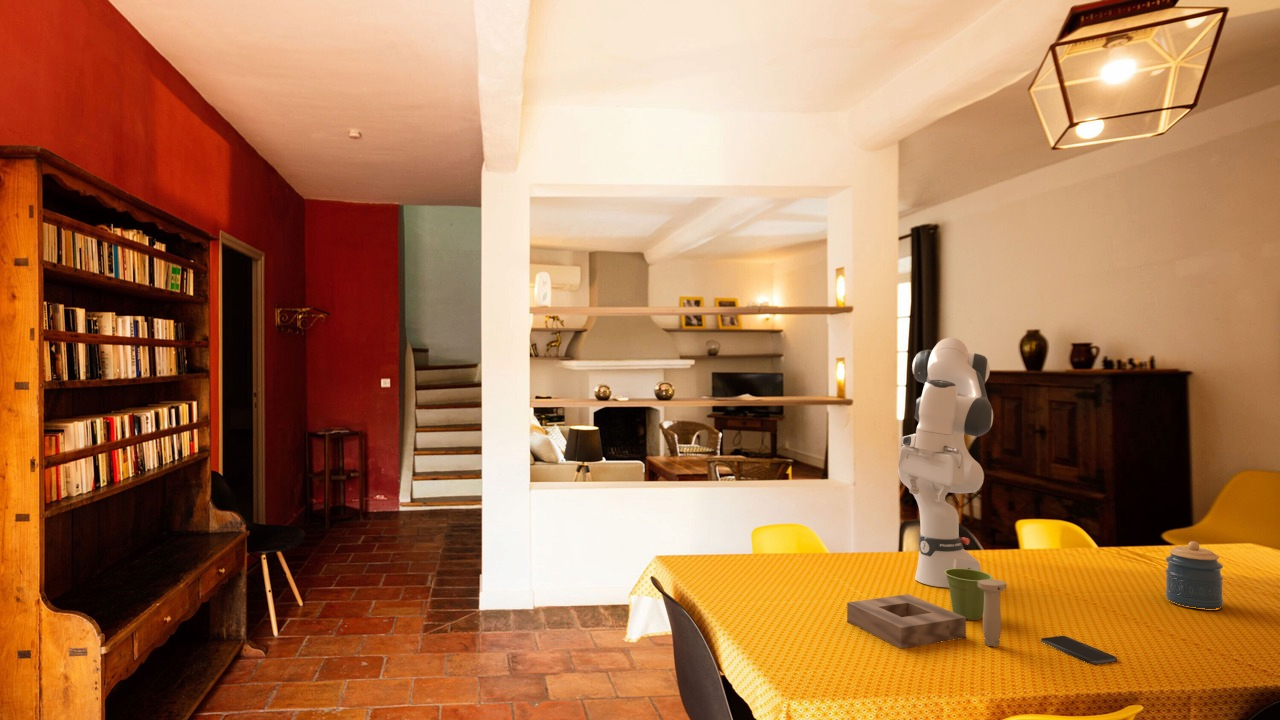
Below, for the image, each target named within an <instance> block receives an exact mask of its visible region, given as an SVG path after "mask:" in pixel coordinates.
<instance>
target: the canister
mask: <svg viewBox="0 0 1280 720" xmlns="http://www.w3.org/2000/svg"><path fill="white" fill-rule="evenodd" d="M1169 554H1170V555H1169V556H1167V557H1165V561H1166V562H1167V567H1166V569H1165V573H1166V574H1165V575H1166V579H1165V580H1166V581H1165V582H1166V583H1165V584H1166V588H1165V589H1166V590H1165V596H1166V600H1167V599H1168V600H1170V601H1172V602H1175V603H1177V604H1180V605H1184V606H1189V607H1196V608H1205V609H1216V608H1220V607H1222V608H1223V605H1224V599H1223V581H1224V577H1223V576H1222V573H1221V571H1222V569H1223V568H1224V566H1223V564H1222V563H1220V562H1219V561H1218V560H1219V558H1220V556H1219V555H1217V554H1216V553H1214V552H1213V551H1212V550H1210V549H1207V548H1202V547H1200V544H1199V543H1198V542H1197V541H1192V540H1191V541H1189V542H1188V544H1187V546H1184V545H1179V546H1175V547H1174V548H1171V549H1170V550H1169ZM1168 600H1167V601H1168Z"/></svg>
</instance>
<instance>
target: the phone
mask: <svg viewBox="0 0 1280 720" xmlns="http://www.w3.org/2000/svg"><path fill="white" fill-rule="evenodd" d="M1041 642H1043V643H1045V644H1047V645H1050V646H1052V647H1054V648H1056V649H1055V650H1057V649H1058V650H1057V651H1059V650H1060V651H1059V652H1061V651H1062V652H1061V653H1063V652H1064V653H1063V654H1066V655H1068V656H1070V655H1071V657H1072V656H1073V658H1075V659H1077V660H1080V661H1081V660H1082V662H1084V661H1085V662H1084V663H1086V662H1087V663H1086V664H1088V663H1090V664H1089V665H1091V664H1094V665H1093V666H1098V664H1100V665H1105V664H1106V663H1107V664H1112V662H1114V663H1117V662H1118V657H1117V656H1115V655H1113V654H1111V653H1108V652H1105V651H1104V650H1101V649H1098V648H1096V647H1094V646H1092V645H1088V644H1087V643H1083V642H1081V641H1079V640H1077V639H1074V638H1071V637H1069V636H1066V635H1058V636H1048V637H1042V638H1041V639H1040V643H1041ZM1043 643H1042V644H1043ZM1045 644H1044V645H1045ZM1047 645H1046V646H1047ZM1050 646H1049V647H1050ZM1052 647H1051V648H1052ZM1054 648H1053V649H1054Z"/></svg>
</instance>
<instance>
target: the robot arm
mask: <svg viewBox="0 0 1280 720" xmlns="http://www.w3.org/2000/svg"><path fill="white" fill-rule="evenodd" d="M911 365H912V366H911V367H912V368H911V370H912V374H913V377H914V379H915V380H916V381H917V382H919V383H921V384H922V383H923V384H924V385H923V389H922V393H921V396H919V397H918V398H917V399H916V402H915V412H914V419H915V421H917V422H918V424H917V426H916V430H915V433H913V434H909V435H905V436H902V437H901V440H900V444H901V445H902V446H901V447H900V449H899V454H898V462H897V475H898V478H899V479H900V481H901V483H902V484H903V485H904V486H906V487H907V488H908V491H909V493H910V494H912V495H913V497H914V499H915V500H916V503H917V506H918V510H919V522H920V524H919V525H920V528H919V529H920V533H919V534H918V546H919V553H918V561H917V568H916V571H915V576H914V579H915V581H917V582H919V583H921V584H924V585H927V586H931V587H938V588H949V584H948V582H947V576H946V574H945V573H944V571H945V570H947V569H952V568H963V569H972V570H977V571H981V570H982V569H981V564H980V562H979V560H978V559H977V558H975V557H974V556H973V555H972V554H970V553H969V552H968V551H967V550H965V549H964V545H967V546H968V545H969V544H970V542H971V540H970V539H969V538H968V537H960V535H959V531H960V530H959V527H960V526H959V524H960V523H959V521H960V520H959V519H960V515H959V513H958V511H957V509H956V508H955V507H954V506H953V505H951V504H950V503H949V502H947V501H946V496H947V495H948V493H952V494H970V493H971V494H972V493H973V494H974V493H976V492H977V491H979V490H980V489H981V488H982V486H983V483H984V479H985V473H984V470H983V468H982V466H981V464H980V463H979V462H978V461H977V460H975V459H974V457H972V455H971V454H970V451H968V449H967V446H966V442H965V435H966V436H967V435H968V436H973V437H976V438H978V437H981V436H983V435H985V434H986V433H988V432H989V431H990V430H991V428H992V425H993V420H994V411H993V408H992V405H991V402H990V401H989V399H988V395H987V391H986V388H985V387H986V386H985V384H986V382H987V380H988V379H989V377H990V371H991V367H990V364H989V362H988V358H987V357H986V356H985V355H983V354H980V353H970V352H969V351H968V348H967V346H966V344H965V343H964V341H962V340H960V339H958V338H954V337H946V338H943V339H941V340H939V341H938V342H937V343H936V345H935V346H934V347H933V349H926V350H925V349H923V350H920V351H919V352H918V353H916V355H915V356H914V358H913V361H912V364H911ZM963 544H964V545H963Z"/></svg>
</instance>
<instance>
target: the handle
mask: <svg viewBox="0 0 1280 720" xmlns="http://www.w3.org/2000/svg"><path fill="white" fill-rule="evenodd" d="M978 587H979V588H980V589H982V590H983V591H984V610H983V616H982V631H983V637H984V639H983V642H984V645H985V644H986V645H985V646H987V647H989V646H994V647H993V648H998V645H999V646H1000V644H1001V633H1002V632H1001V631H1002V617H1001V616H1002V615H1001V613H1002V612H1001V602H1000V601H1001V600H1000V599H1001V598H1000V596H1001V595H1000V594H1001V592H1002V591H1005V590H1006V589H1007V583H1006V582H1005V581H1003V580H999V579H986V580H979V581H978Z"/></svg>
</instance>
